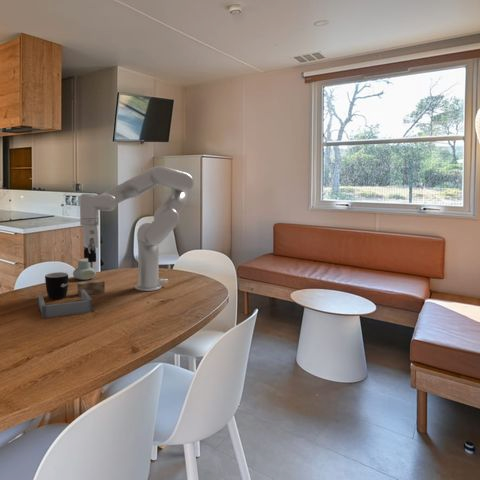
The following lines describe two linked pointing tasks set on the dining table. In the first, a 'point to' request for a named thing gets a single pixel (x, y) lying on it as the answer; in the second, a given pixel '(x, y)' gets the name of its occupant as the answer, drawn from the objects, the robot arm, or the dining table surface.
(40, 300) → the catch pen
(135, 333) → the dining table surface
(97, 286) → the light brown rectangular block
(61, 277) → the mug
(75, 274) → the air freshener
